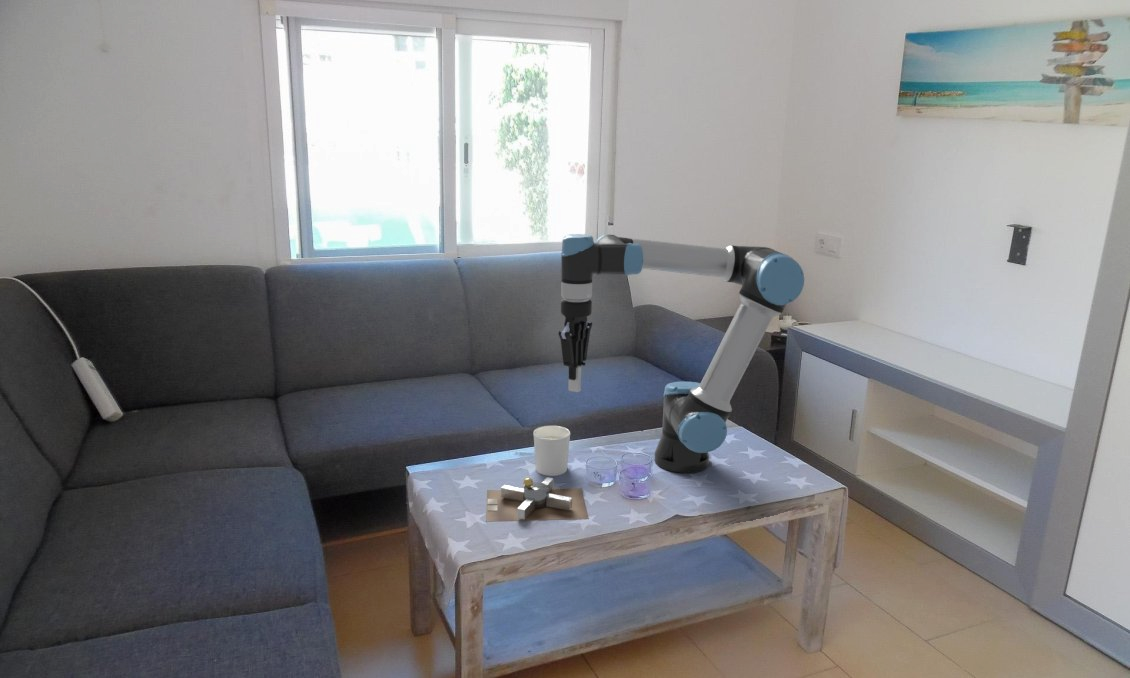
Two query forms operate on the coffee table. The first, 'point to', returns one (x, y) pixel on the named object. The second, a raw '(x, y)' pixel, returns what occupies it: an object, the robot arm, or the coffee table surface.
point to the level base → (509, 509)
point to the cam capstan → (535, 496)
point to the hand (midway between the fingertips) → (574, 390)
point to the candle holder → (551, 450)
